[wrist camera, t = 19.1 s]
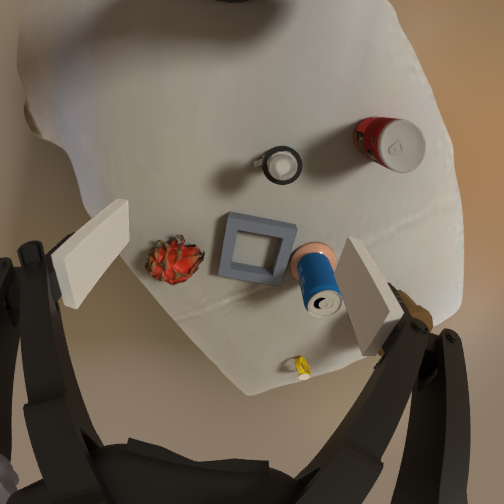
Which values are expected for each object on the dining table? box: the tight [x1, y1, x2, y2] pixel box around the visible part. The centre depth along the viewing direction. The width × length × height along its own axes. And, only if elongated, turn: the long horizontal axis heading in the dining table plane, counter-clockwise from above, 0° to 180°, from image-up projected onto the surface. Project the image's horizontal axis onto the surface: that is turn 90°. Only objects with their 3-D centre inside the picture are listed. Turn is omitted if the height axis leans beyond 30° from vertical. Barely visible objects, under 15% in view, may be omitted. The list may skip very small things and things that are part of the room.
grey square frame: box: [218, 212, 297, 286], centre depth 49 cm, size 12×12×2 cm
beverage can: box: [297, 252, 343, 318], centre depth 46 cm, size 6×6×12 cm
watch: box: [295, 356, 311, 380], centre depth 64 cm, size 6×3×6 cm, turn 34°
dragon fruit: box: [144, 235, 205, 285], centre depth 48 cm, size 8×8×12 cm
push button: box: [254, 146, 302, 185], centre depth 38 cm, size 7×5×10 cm
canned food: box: [354, 117, 426, 173], centre depth 35 cm, size 8×8×11 cm
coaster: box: [290, 242, 336, 281], centre depth 52 cm, size 9×9×1 cm
